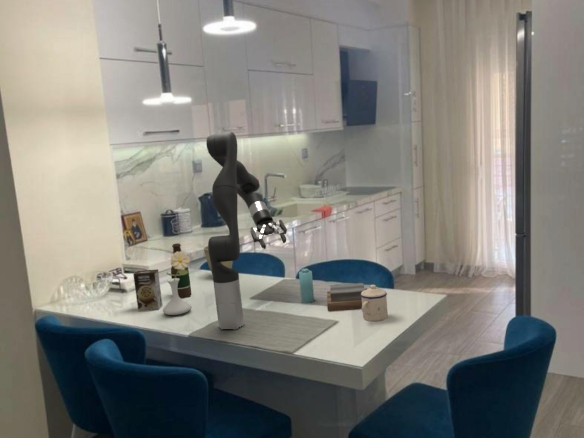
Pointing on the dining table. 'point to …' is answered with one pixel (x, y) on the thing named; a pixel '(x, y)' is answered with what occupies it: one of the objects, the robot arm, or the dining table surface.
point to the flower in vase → (176, 302)
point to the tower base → (343, 304)
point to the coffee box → (148, 290)
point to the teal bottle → (306, 286)
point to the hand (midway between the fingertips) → (275, 244)
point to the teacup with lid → (374, 304)
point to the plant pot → (226, 263)
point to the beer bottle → (181, 277)
